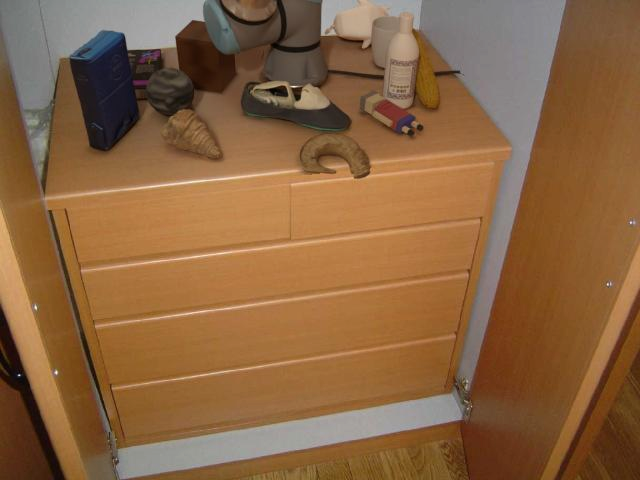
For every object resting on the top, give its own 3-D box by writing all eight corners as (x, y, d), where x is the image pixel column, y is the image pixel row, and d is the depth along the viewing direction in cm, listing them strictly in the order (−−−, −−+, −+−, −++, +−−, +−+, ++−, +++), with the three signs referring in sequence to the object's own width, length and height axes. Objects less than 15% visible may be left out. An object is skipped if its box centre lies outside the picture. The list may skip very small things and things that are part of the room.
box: (159, 101, 147) (163, 60, 162) (157, 86, 145) (161, 46, 159) (95, 103, 146) (104, 61, 160) (91, 89, 143) (101, 47, 158)
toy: (424, 135, 140) (373, 103, 147) (428, 118, 137) (376, 86, 144) (405, 145, 137) (354, 112, 144) (409, 128, 134) (356, 96, 141)
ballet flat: (343, 139, 136) (345, 104, 130) (234, 119, 141) (231, 84, 136) (354, 119, 142) (356, 85, 136) (249, 100, 147) (247, 66, 142)
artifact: (313, 124, 133) (384, 141, 129) (314, 136, 136) (383, 153, 132) (289, 161, 127) (363, 180, 122) (291, 173, 129) (363, 193, 125)
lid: (236, 29, 149) (236, 26, 149) (220, 47, 142) (220, 43, 142) (192, 23, 151) (192, 19, 151) (175, 40, 144) (174, 36, 144)
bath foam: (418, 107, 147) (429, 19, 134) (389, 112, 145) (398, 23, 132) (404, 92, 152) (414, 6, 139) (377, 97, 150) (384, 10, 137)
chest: (236, 74, 157) (233, 29, 149) (221, 93, 150) (217, 46, 142) (197, 68, 158) (192, 23, 151) (181, 86, 152) (175, 40, 144)
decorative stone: (196, 123, 140) (191, 80, 133) (148, 126, 138) (141, 82, 132) (196, 100, 147) (192, 58, 141) (150, 102, 146) (144, 60, 139)
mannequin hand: (386, 46, 177) (400, 43, 166) (320, 54, 174) (331, 52, 163) (381, -3, 174) (395, -9, 163) (315, 5, 171) (324, -1, 160)
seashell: (216, 174, 133) (236, 142, 135) (213, 160, 125) (234, 126, 127) (157, 142, 134) (178, 110, 136) (150, 126, 126) (172, 92, 128)
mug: (367, 54, 166) (370, 15, 159) (403, 54, 166) (407, 15, 160) (372, 78, 156) (376, 38, 150) (410, 78, 157) (415, 38, 150)
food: (396, 44, 155) (389, 30, 150) (418, 32, 154) (412, 18, 149) (427, 117, 148) (420, 105, 142) (450, 106, 146) (445, 94, 141)
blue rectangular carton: (109, 155, 130) (88, 59, 117) (85, 150, 131) (61, 55, 118) (143, 119, 141) (127, 28, 128) (120, 115, 142) (102, 24, 129)
